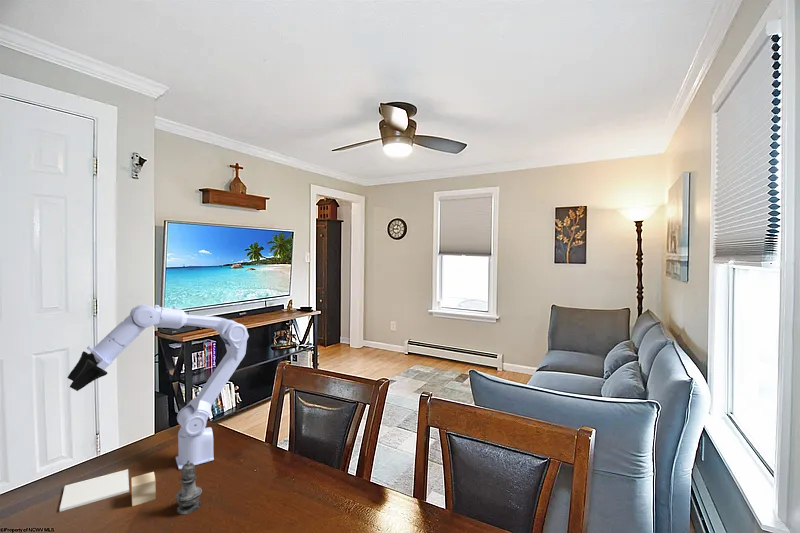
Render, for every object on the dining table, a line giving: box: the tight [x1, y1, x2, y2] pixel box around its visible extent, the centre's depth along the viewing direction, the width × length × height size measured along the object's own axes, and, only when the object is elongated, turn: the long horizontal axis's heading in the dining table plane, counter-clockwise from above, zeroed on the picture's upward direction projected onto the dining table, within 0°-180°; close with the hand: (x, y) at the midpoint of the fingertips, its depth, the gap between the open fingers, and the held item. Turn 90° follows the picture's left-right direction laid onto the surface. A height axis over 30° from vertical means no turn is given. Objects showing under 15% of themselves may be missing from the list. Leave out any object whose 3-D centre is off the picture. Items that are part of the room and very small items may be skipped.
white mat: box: [59, 468, 130, 513], centre depth 105 cm, size 14×12×1 cm
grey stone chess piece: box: [174, 460, 203, 515], centre depth 98 cm, size 6×6×12 cm
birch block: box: [130, 471, 157, 507], centre depth 102 cm, size 5×5×5 cm
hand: (72, 384), depth 101 cm, fingers open, 7 cm apart
